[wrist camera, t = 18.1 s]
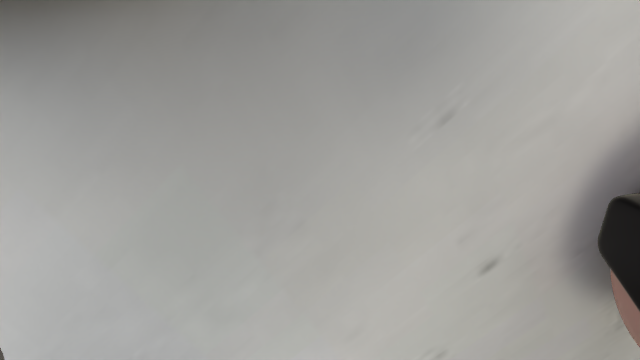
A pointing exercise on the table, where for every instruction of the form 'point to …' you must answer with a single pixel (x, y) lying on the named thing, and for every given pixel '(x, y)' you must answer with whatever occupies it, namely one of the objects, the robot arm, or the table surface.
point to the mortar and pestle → (626, 309)
